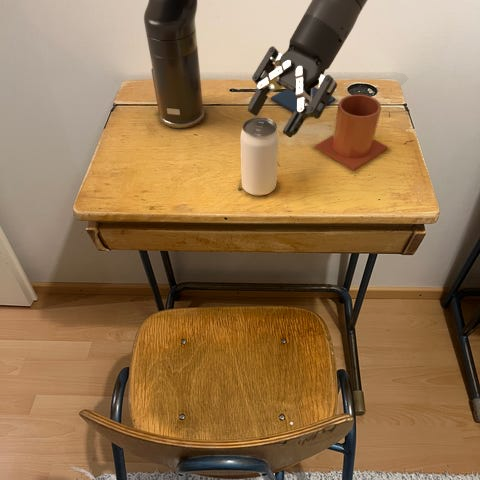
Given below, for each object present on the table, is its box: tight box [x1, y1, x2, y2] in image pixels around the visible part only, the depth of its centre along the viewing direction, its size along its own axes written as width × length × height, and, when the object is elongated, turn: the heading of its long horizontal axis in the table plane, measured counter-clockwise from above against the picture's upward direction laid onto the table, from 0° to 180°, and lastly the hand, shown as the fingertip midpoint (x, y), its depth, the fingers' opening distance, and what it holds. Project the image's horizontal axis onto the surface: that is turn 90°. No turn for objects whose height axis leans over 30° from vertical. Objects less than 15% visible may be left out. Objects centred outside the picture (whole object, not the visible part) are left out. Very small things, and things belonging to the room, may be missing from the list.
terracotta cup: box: [332, 93, 382, 158], centre depth 88 cm, size 8×8×9 cm
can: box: [239, 116, 280, 197], centre depth 81 cm, size 6×6×12 cm
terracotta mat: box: [315, 135, 389, 172], centre depth 92 cm, size 10×10×1 cm
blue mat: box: [270, 86, 336, 113], centre depth 102 cm, size 10×10×1 cm
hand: (268, 124), depth 77 cm, fingers open, 8 cm apart
